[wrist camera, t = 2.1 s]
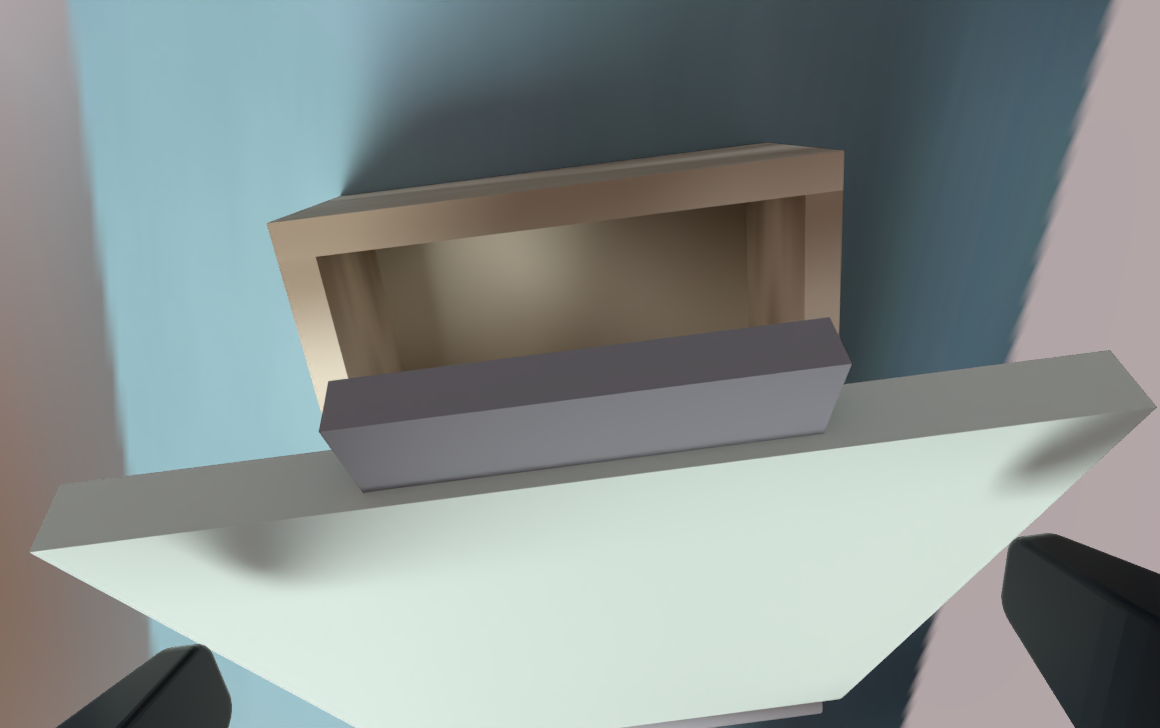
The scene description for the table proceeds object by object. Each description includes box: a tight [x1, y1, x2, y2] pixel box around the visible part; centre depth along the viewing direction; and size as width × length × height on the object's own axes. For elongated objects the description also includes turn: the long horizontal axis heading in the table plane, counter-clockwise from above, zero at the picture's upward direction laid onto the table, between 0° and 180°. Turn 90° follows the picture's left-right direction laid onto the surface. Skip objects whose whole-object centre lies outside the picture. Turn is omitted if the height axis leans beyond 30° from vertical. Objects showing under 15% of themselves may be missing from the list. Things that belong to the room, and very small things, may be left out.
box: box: [267, 143, 844, 413], centre depth 18 cm, size 14×12×5 cm
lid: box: [30, 317, 1157, 728], centre depth 12 cm, size 16×12×1 cm
